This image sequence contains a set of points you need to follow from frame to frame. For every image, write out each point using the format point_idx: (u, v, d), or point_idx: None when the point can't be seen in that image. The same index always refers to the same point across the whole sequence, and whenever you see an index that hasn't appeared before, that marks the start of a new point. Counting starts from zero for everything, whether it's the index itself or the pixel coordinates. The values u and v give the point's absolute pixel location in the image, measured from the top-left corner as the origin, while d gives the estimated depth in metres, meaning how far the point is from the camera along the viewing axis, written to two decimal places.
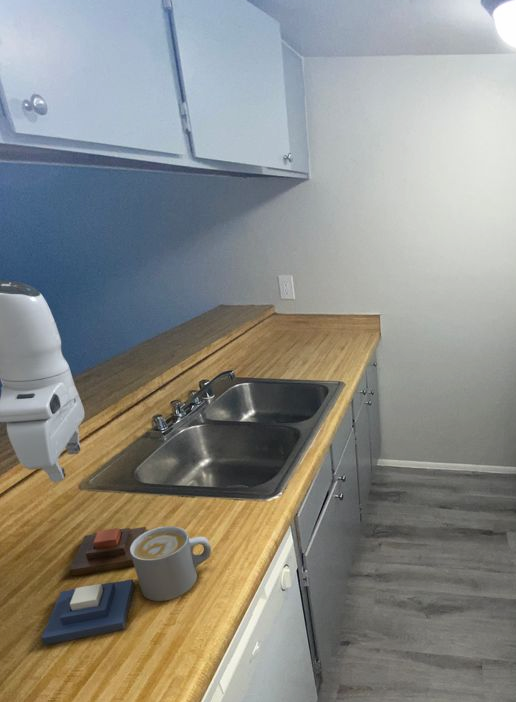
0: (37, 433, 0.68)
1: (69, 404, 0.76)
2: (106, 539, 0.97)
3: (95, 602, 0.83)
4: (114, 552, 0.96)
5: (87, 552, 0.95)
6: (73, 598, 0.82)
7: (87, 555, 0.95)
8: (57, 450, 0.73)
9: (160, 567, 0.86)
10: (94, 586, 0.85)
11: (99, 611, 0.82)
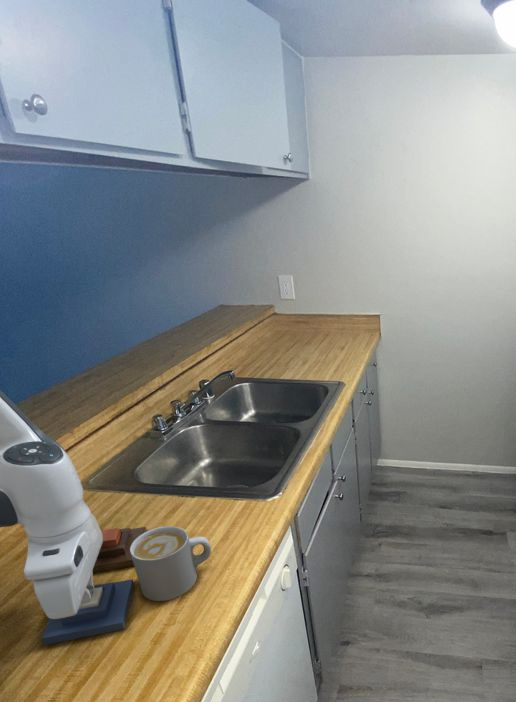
0: (62, 588, 0.72)
1: None
2: (106, 539, 0.97)
3: (96, 605, 0.83)
4: (114, 552, 0.96)
5: None
6: None
7: None
8: (80, 595, 0.76)
9: (160, 567, 0.86)
10: (95, 589, 0.86)
11: (99, 611, 0.82)
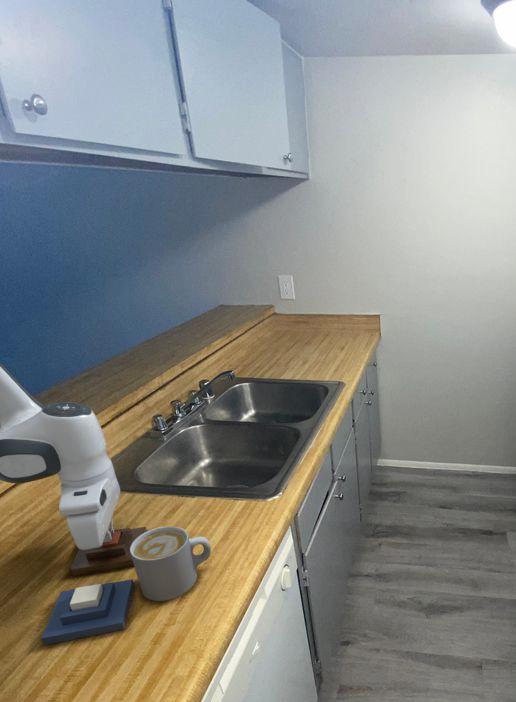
0: (90, 523, 0.86)
1: (111, 492, 0.94)
2: (107, 542, 0.97)
3: (95, 602, 0.83)
4: (114, 552, 0.96)
5: (87, 552, 0.95)
6: (73, 598, 0.82)
7: (87, 555, 0.95)
8: (103, 532, 0.91)
9: (160, 567, 0.86)
10: (94, 586, 0.85)
11: (99, 611, 0.82)
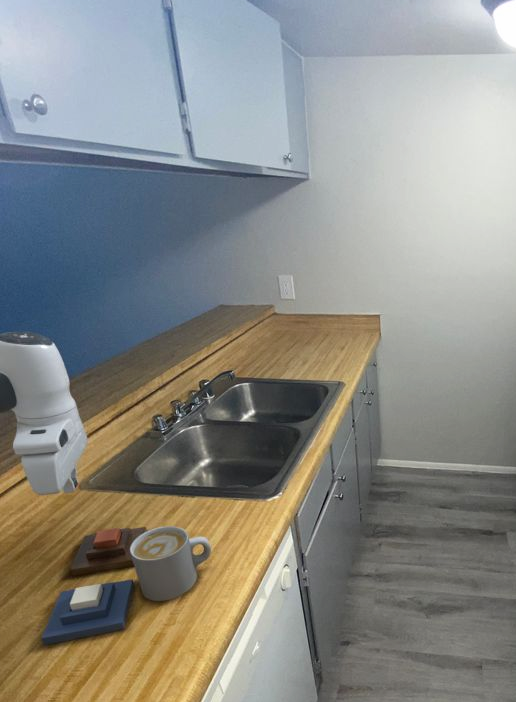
0: (47, 464, 0.78)
1: (75, 436, 0.87)
2: (106, 539, 0.97)
3: (95, 602, 0.83)
4: (114, 552, 0.96)
5: (87, 552, 0.95)
6: (73, 598, 0.82)
7: (87, 555, 0.95)
8: (64, 477, 0.83)
9: (160, 567, 0.86)
10: (94, 586, 0.85)
11: (99, 611, 0.82)
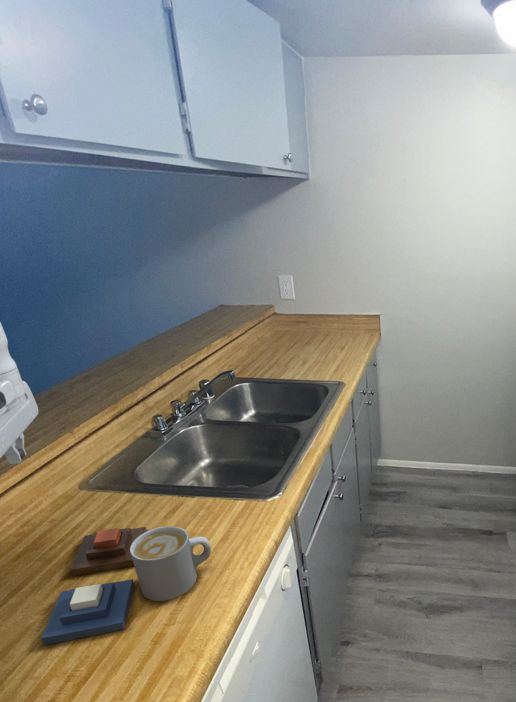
0: None
1: (17, 401, 0.80)
2: (106, 539, 0.97)
3: (95, 602, 0.83)
4: (114, 552, 0.96)
5: (87, 552, 0.95)
6: (73, 598, 0.82)
7: (87, 555, 0.95)
8: (4, 445, 0.77)
9: (160, 567, 0.86)
10: (94, 586, 0.85)
11: (99, 611, 0.82)
